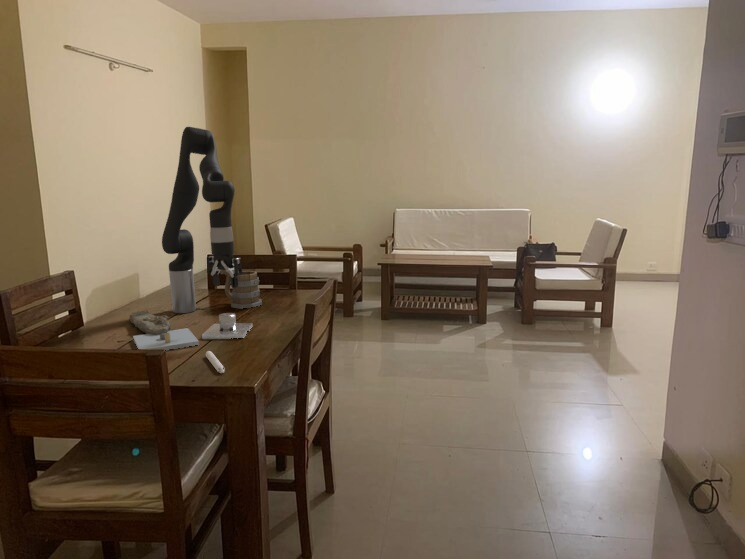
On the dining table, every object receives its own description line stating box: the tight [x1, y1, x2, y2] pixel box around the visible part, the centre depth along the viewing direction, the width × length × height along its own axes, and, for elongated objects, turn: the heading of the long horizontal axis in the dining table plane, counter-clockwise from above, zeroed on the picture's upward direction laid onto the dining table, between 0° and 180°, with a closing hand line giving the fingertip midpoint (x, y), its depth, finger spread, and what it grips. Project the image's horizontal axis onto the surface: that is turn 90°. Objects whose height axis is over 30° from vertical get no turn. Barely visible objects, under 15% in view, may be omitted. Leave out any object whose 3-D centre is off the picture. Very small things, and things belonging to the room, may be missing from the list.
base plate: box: [132, 327, 200, 352], centre depth 184 cm, size 18×18×4 cm
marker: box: [205, 350, 226, 374], centre depth 162 cm, size 18×2×2 cm, turn 28°
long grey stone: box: [129, 310, 172, 335], centre depth 203 cm, size 35×5×10 cm
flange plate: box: [201, 312, 254, 340], centre depth 194 cm, size 14×14×7 cm
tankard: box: [219, 270, 263, 310], centre depth 236 cm, size 20×13×15 cm, turn 58°
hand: (225, 286), depth 191 cm, fingers open, 8 cm apart
